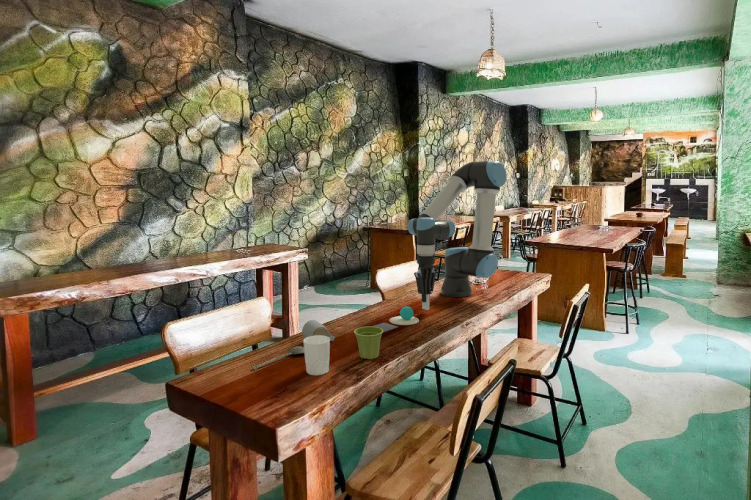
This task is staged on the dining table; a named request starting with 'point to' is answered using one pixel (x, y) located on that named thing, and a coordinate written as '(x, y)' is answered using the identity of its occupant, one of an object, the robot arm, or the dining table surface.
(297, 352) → the soupspoon
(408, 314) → the ball
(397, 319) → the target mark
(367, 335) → the plant pot
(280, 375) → the dining table surface
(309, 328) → the ceramic mug
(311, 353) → the white cup
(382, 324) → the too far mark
